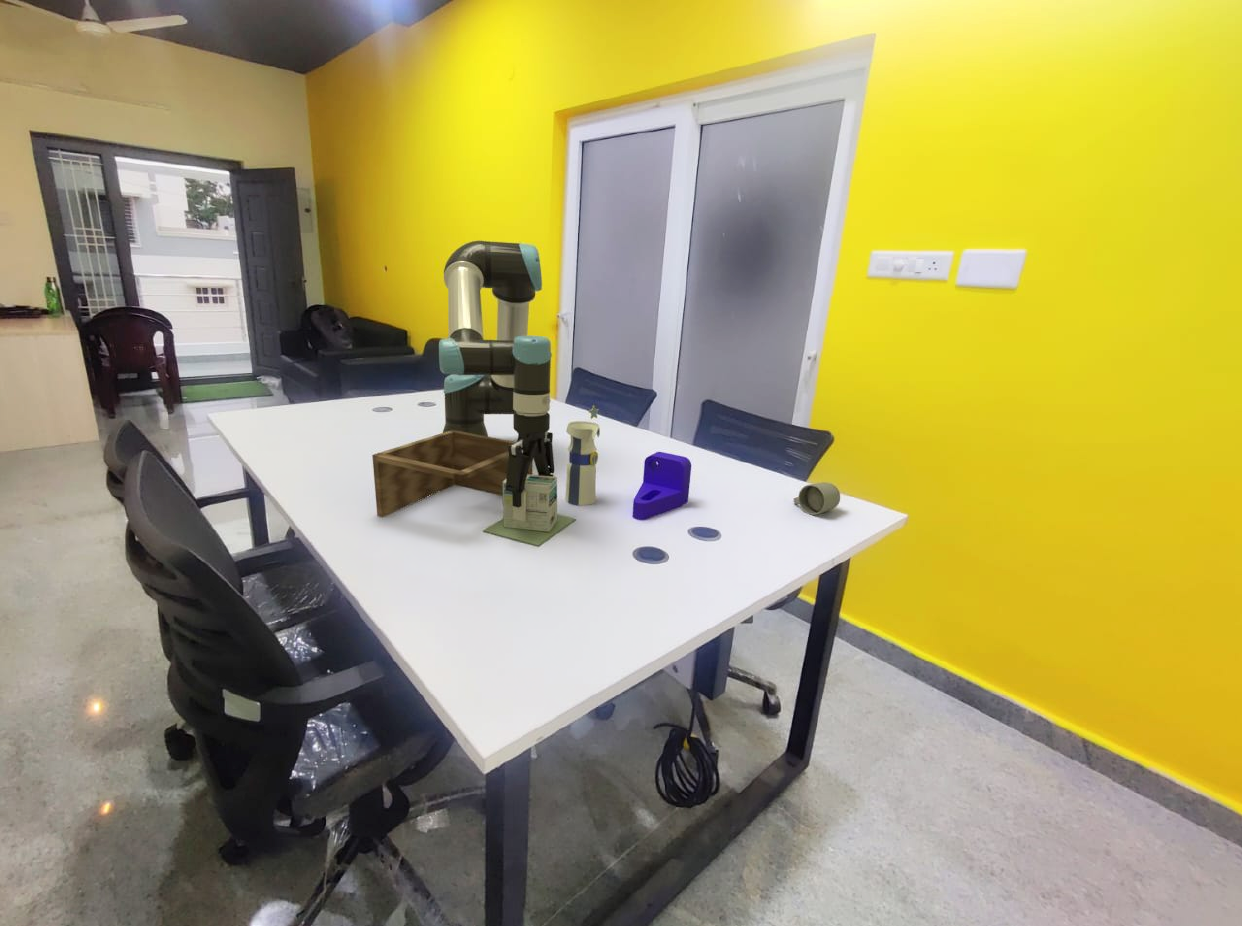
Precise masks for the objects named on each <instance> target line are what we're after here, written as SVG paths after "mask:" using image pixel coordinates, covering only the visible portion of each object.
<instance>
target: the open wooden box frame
mask: <svg viewBox="0 0 1242 926" xmlns="http://www.w3.org/2000/svg"><path fill="white" fill-rule="evenodd" d="M516 443H517V441H512V440H506V439H503V438H497V437H492V436H488V437H487V436H482V435H477V434H472V433H466V432H461V431H456V430H451V431H447V432H444V433H443V432H442V433H438V434H435V435H432V436H429V437H426V438H423V439H419V440H416V441H413V442H412V441H411V442H410V443H407V444H406V443H405V444H403V445H399V446H398V447H397V446H396V447H394V448H390V449H388V450H384V451H381V452H378V453H374V454H372V468H373V478H374V493H375V506H376V513H377V514H376V516H378V517H381V518H383V517H385V516H388V515H391V514H392V513H394V512H397V511H399V510H401V508H402V509H403V507H404V508H406V507H408V506H410V505H409V504H411V503H413V502H415V503H417V502H419V501H418V500H420V499H422V498H424V499H426V498H425V497H427V496H429V495H431V494H433V495H435V494H434V493H436V492H438V491H440V492H443V491H446V490H447V489H449V488H452V487H453V486H459V487H463V488H467V489H470V490H471V489H472V490H476V491H478V492H483V491H484V492H485V493H488V494H492V495H497V496H501V497H503V489H502V483H503V481H504V480H505V479H506V478H507V469H508V460H509V451H508V446H509V444H513V445H514V444H516ZM522 456H524V455H523V454H522ZM524 457H528V456H524ZM533 461H534V460H533ZM533 461H532V462H530V465H529V469H528V473H527V474H528V475H533V464H534V463H533ZM438 493H439V492H438ZM436 494H437V493H436ZM431 496H432V495H431ZM429 497H430V496H429ZM427 498H428V497H427ZM422 500H423V499H422ZM416 501H417V502H416ZM420 501H421V500H420ZM413 504H414V503H413ZM407 505H408V506H407ZM411 505H412V504H411ZM405 506H406V507H405Z"/></svg>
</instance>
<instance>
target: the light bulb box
mask: <svg viewBox="0 0 1242 926" xmlns="http://www.w3.org/2000/svg"><path fill="white" fill-rule="evenodd" d="M505 488H506V479H505V480H504V481H503V483H502V489H503V496H502V511H503V512H502V514H503V517H502V519H503V525H504V527H507V528H517V529H526V530H536V531H546V532H550V530H551V529H552V527H553V526H554V524H555V523H556V521H557V514H558V476H556V475H555V476H554V475H553V476H540V475H538V474H532V475H528V474H527V477H526V481H525V486H524V490H523V491H525V492H526V520H525V521H520V520H516V519H513V499H512V492H510V491H506V489H505Z"/></svg>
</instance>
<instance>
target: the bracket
mask: <svg viewBox="0 0 1242 926" xmlns="http://www.w3.org/2000/svg"><path fill="white" fill-rule="evenodd" d="M691 473H692V462H691V460H690V459H689V458H688V457H687V456H682V455H677V454H672V453H669V452H664V451H656V452H654V453H652V454H651V455H649V456H646V458H645V459H644V465H643V477H642V478H643V479H642V483H641V485H640V487H639V488H638V490H637V492H636V494H635V496H634V498H633V502H632V503H633V504H632V514H631V515H632V518H633V519H634V520H638V521H644V520H648V519H651V518H654V517H656V516H660V515H662V514H665V513H667V512H671V511H673V510H677V509H679V508H682V507H683V506H684V505H686V504H687V503H688V501H689V494H690V484H691Z"/></svg>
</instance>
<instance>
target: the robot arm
mask: <svg viewBox="0 0 1242 926" xmlns="http://www.w3.org/2000/svg"><path fill="white" fill-rule="evenodd" d="M443 281H444V285H445V286H446V288H447V292H448V293H447V294H448V295H447V302H448V313H447V314H448V316H447V317H448V320H447V321H448V322H447V323H448V338H442V339H440V340H439V342H438V360H439V370H440V372H441V373H442V374H444V375H447V376H446V377H445V378H444V381H443V382H444V383H443V384H444V385H443V386H444V387H443V394H444V419H445V423H444V428H443V430H442V433H444V432H447V431H451V430H456V431H461V432H466V433H472V434H477V435H482V436H487V437H489V433H488V430H487V428H486V424H485V415H513V416H512V417H513V421H512V423H513V425H512V426H513V430H514V431H515V432H517V440H516V442H517V443H516V444H514V445H513V444H509V446H508V451H509V460H508V469H507V478H506V488H505V489H506V491H510V492H512V499H513V519H516V520H520V521H525V520H526V492H525V491H523V490H524V486H525V481H526V477H527V473H528V469H529V465H530V462H532V461H534V464H535V469H536V471H537V475H540V476H554V473H555V460H554V449H553V448H554V447H553V437H554V433H553V432H549V430H550V428H551V427H550V421H551V417H550V416H551V415H550V413H549V411H550V409H551V407H550V406H551V405H550V403H551V365H552V364H551V362H552V360H551V359H552V357H553V354H552V347H551V346H552V345H551V344H552V343H551V340H550V338H548V337H546V336H541V335H528V329H529V328H528V327H529V313H530V312H529V311H530V303H531V302H532V301H534V299H535V298H536V292H540V291H542V290H543V288H542V287H543V278H542V267H541V259H540V254H539V250H538V248H537V247H536V246H535V245H533V244H529V243H527V244H526V243H522V242H518V243H517V242H503V241H490V240H488V241H487V240H473V241H470V242H466V243H464V244H462V245H461V246H460V247H458V248H456V249H455V250H454V251H453V253H451V255H450V256H449V257H448V259H447V261H446V263H445V264H444V268H443ZM482 289H491V293H492V296H493V297H495V299H496V300H497V312H496V315H497V319H496V320H497V321H496V324H497V325H496V339H484V325H483V312H482V298H481V297H482V296H481V295H482V294H481V290H482ZM522 454H523V455H524V456H528V457H524V456H522Z"/></svg>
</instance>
